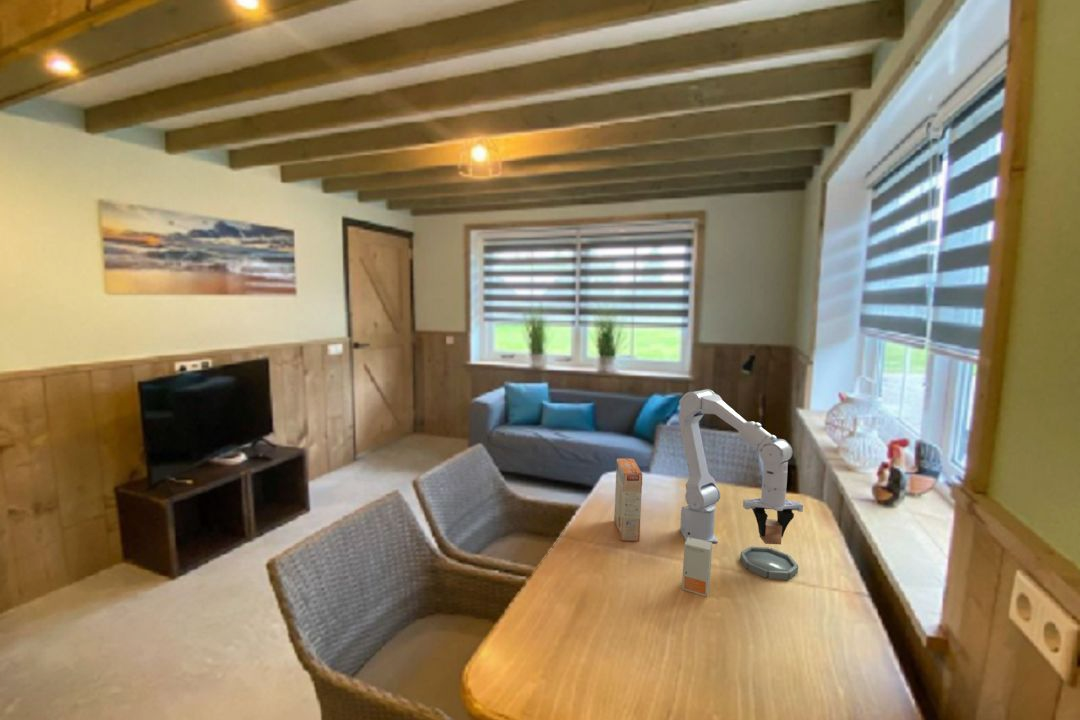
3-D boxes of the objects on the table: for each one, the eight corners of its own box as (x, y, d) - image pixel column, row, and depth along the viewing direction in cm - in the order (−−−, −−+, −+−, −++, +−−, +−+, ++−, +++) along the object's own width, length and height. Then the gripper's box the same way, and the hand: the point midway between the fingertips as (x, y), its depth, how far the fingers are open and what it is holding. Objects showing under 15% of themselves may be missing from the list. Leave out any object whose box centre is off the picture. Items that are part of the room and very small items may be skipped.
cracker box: (640, 542, 139) (643, 473, 137) (620, 541, 139) (622, 472, 137) (632, 520, 153) (634, 457, 151) (613, 520, 153) (615, 457, 151)
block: (765, 543, 125) (766, 525, 124) (759, 536, 129) (760, 518, 128) (781, 544, 125) (782, 526, 124) (774, 537, 129) (776, 519, 128)
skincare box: (681, 590, 116) (683, 543, 114) (684, 581, 119) (687, 536, 118) (707, 597, 113) (710, 549, 112) (710, 588, 117) (712, 542, 115)
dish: (751, 577, 121) (752, 571, 121) (735, 551, 134) (735, 545, 134) (804, 580, 120) (805, 574, 120) (783, 554, 133) (783, 548, 133)
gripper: (751, 490, 121) (747, 541, 123) (810, 493, 120) (806, 544, 122) (741, 480, 128) (738, 528, 130) (797, 482, 127) (793, 531, 129)
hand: (770, 535), depth 126 cm, fingers closed on block, 4 cm apart
